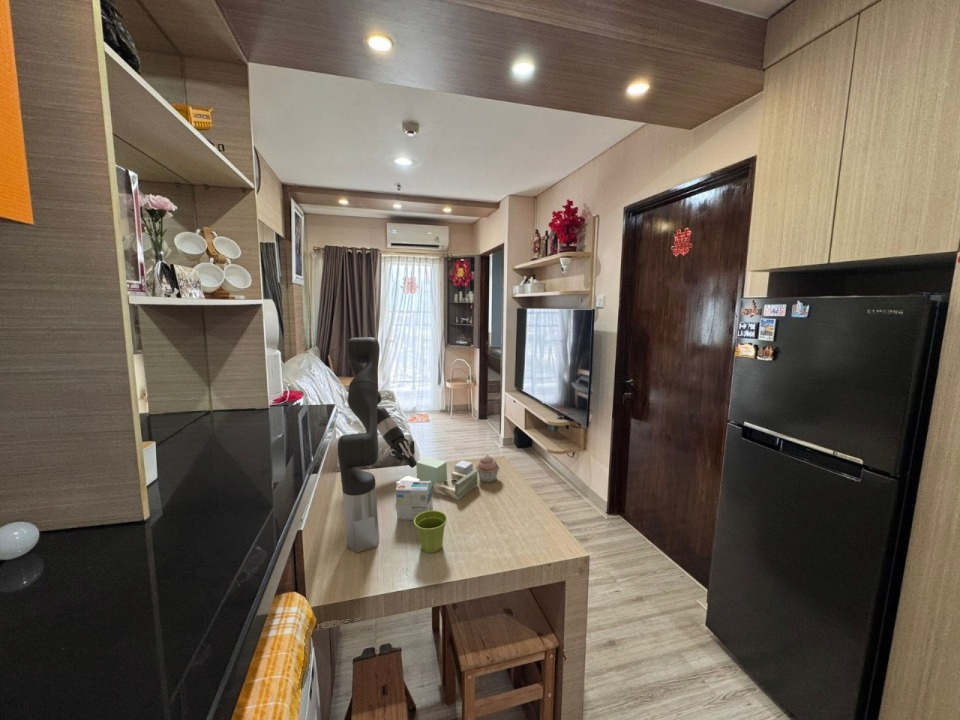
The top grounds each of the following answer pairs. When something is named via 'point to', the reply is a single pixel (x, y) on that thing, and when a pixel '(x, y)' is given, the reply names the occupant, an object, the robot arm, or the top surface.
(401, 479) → the cream block
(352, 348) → the robot arm
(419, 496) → the light bulb box
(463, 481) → the birch bay
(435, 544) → the plant pot
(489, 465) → the cupcake
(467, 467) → the grey-blue block
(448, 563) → the top surface
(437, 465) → the sage block
